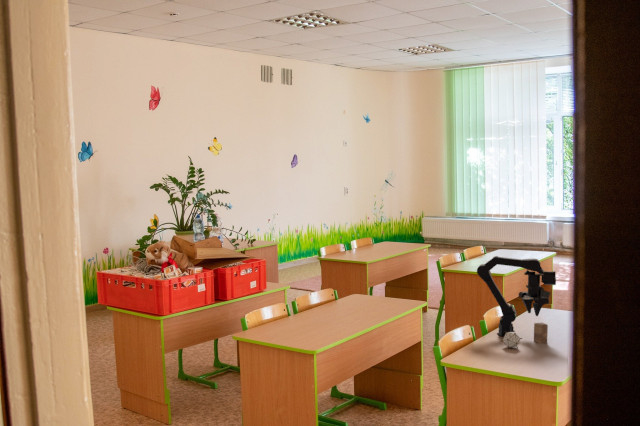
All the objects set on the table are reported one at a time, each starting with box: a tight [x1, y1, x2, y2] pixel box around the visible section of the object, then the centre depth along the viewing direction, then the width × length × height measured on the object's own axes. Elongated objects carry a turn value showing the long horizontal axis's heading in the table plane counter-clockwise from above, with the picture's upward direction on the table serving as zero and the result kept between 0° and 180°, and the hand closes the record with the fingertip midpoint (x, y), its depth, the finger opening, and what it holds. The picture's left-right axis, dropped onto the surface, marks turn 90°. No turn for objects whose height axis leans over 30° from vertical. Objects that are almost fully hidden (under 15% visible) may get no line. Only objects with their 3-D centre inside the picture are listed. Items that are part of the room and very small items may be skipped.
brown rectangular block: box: [533, 322, 549, 344], centre depth 290 cm, size 4×4×9 cm
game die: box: [500, 330, 523, 350], centre depth 279 cm, size 9×8×10 cm
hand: (533, 314), depth 296 cm, fingers open, 6 cm apart
